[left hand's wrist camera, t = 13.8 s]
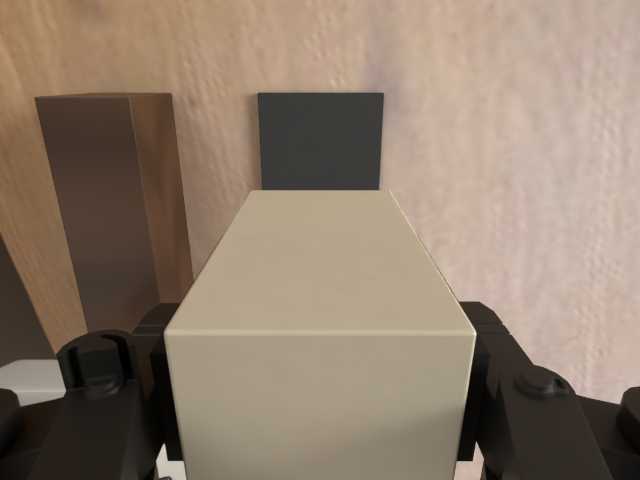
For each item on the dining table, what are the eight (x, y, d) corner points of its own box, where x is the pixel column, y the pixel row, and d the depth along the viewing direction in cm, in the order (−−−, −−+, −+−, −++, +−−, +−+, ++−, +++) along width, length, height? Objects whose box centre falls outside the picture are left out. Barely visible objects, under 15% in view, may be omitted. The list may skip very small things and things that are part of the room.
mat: (258, 92, 34) (257, 93, 33) (383, 92, 34) (383, 93, 33) (264, 211, 38) (263, 213, 37) (376, 211, 38) (377, 213, 37)
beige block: (250, 189, 15) (160, 330, 7) (390, 189, 15) (479, 331, 7) (257, 312, 17) (194, 546, 8) (382, 312, 17) (445, 546, 8)
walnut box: (96, 92, 34) (33, 97, 26) (171, 92, 34) (129, 97, 26) (144, 361, 43) (108, 420, 36) (203, 361, 43) (178, 420, 36)
